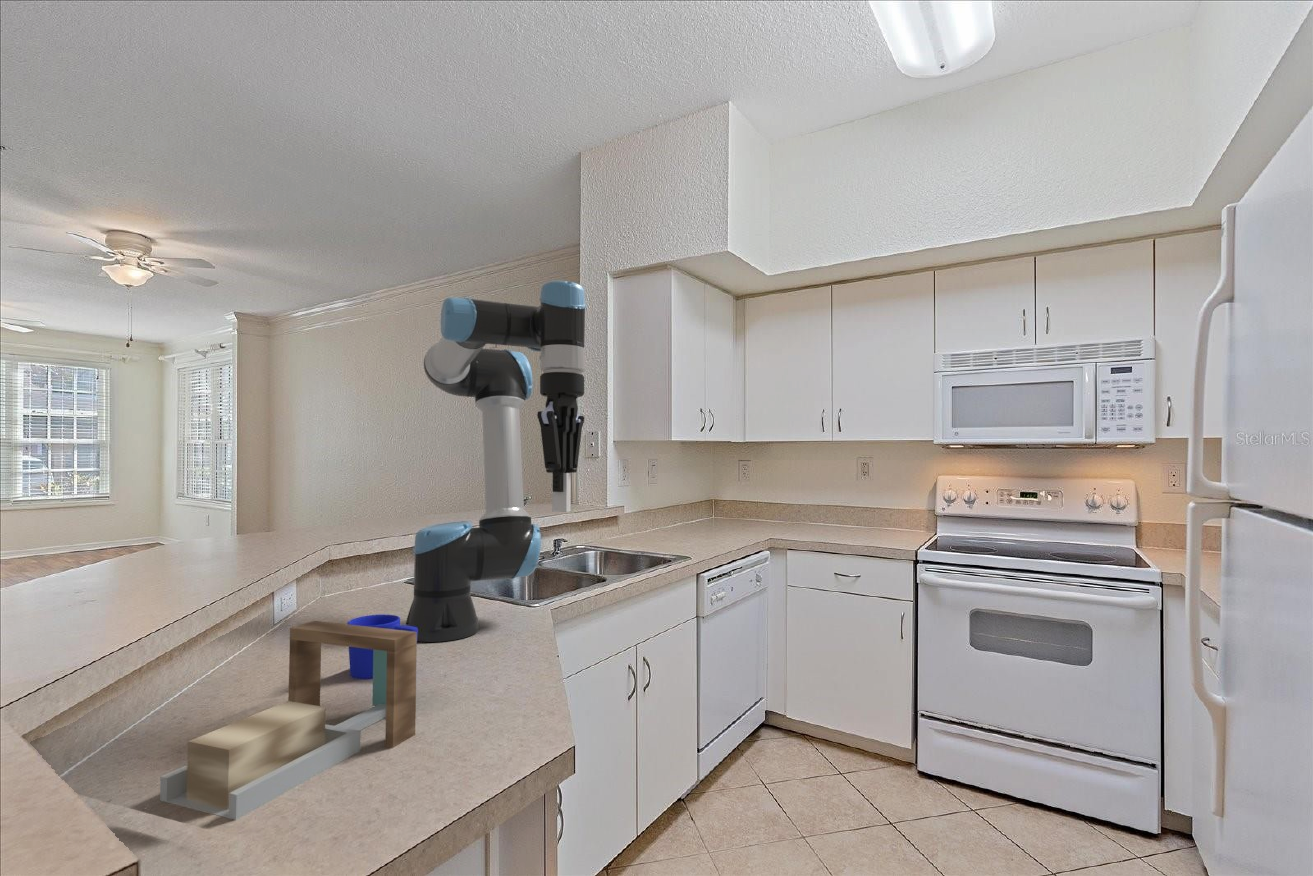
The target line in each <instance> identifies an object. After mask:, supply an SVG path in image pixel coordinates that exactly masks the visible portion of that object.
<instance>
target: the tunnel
mask: <svg viewBox="0 0 1313 876" xmlns="http://www.w3.org/2000/svg"><path fill="white" fill-rule="evenodd" d="M322 644H324V645H325V644H327V645H334V646H335V645H336V646H341V647H342V646H343V647H348V648H349V647H357V648H365V649H373V650H381V651H387V678H386V717H385V744H384V745H385V747H386V748H390V749H391V748H392V749H393V748H395V747H398V746H399V745H400V744H402V743H404V742H406V741H407V740H409V739H411V738H412V737H414V736H416V719H417V718H416V715H417V714H416V710H417V709H416V707H417V705H416V703H417V701H416V700H417V696H416V695H417V692H416V691H417V647H418V646H417V645H418V641H417V632H412V631H403V630H394V629H385V628H376V627H367V626H358V625H349V624H347V623H341V622H340V623H339V622H338V623H337V622H330V621H329V622H328V621H320V620H313V621H309V622H307V623H303V624H299V625H295V626H292V627H290V628H289V657H288V658H289V663H288V667H289V668H288V697H287V698H288V700H287V701H292V702H298V703H304V704H310V705H315V706H321V675H322V674H321V673H322V672H321V668H322V667H321V666H322V665H321V664H322Z"/></svg>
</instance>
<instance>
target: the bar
mask: <svg viewBox="0 0 1313 876" xmlns="http://www.w3.org/2000/svg"><path fill="white" fill-rule="evenodd" d="M325 724H326V707H325V706H321V705H320V706H315V705H310V704H304V703H298V702H292V701H288V700H287V701H284V702H282V703H280V704H276V705H274V706H272V707H270V708H267V709H265V710H263V711H259V712H257V713H254V714H252V715H250V716H247V717H244V718H243V719H242V718H241V719H240V720H238V721H237V720H236V721H235V722H232V723H230V724H228V725H225V726H223V727H220V728H218V729H215V730H212V731H210V732H207V733H205V734H203V735H200V736H198V737H196V738H192V739H190V740H188V741H187V797H186V799H187V800H191V801H195V802H199V803H203V804H207V805H211V806H215V807H218V808H222V809H226V810H228V809H229V793H231V792H233V791H235V790H237V789H239V788H240V787H242V786H244V785H246V784H248V783H250V782H252V781H254V780H256V779H258V778H260V777H262V776H264V775H266V774H268V773H270V772H272V771H274V770H276V769H278V768H280V767H282V766H284V765H286V764H288V763H290V762H291V761H293V760H295V759H297V758H299V757H301V756H303V755H305V754H307V753H309V752H311V751H313V750H315V749H317V748H319V747H321V746H323V745H325Z"/></svg>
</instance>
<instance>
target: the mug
mask: <svg viewBox="0 0 1313 876" xmlns="http://www.w3.org/2000/svg"><path fill="white" fill-rule="evenodd" d="M400 623H401V618H400V617H399V616H398V615H395V614H383V613H382V614H370V615H364V616H363V615H362V616H359V617H356V618H352V619H350V620H349V621H347V623H346V624H349V625H358V626H367V627H376V628H385V629H394V630H403V631H412V632H417V637H418V628H417V627H413V626H405V624H404V625H402V624H400ZM348 657H349V659H348V661H349V674H350V677H351V678H353V679H355V680H356V679H357V680H373V649H365V648H357V647H349V646H348Z"/></svg>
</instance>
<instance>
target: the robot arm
mask: <svg viewBox="0 0 1313 876" xmlns="http://www.w3.org/2000/svg"><path fill="white" fill-rule="evenodd" d="M539 301H540V305H539V306H534V305H533V306H532V305H525V304H516V303H515V304H514V303H507V302H499V301H492V300H490V301H489V300H483V299H476V298H475V299H473V298H469V297H447V298H445V299H444V300H443V302H442V307H441V309H440V310H441V312H440V334H441V335H442V336H441V338H440V339H439V341H437V342H436V343H435V344H433V345H432V346H430V347H429V349H428V350H427V352H426V353H425V356H424V359H423V369H424V373H425V375H426V377H427V378H428V380H429V381H430V382H431V383H432V384H433V385H434V386H435V387H437V388H438V389H440V390H441V391H443V392H444V393H447V394H449V395H453V396H456V397H465V398H466V397H467V398H468V397H469V398H474V399H475V401H474V402H475V403H474V404H475V407H476V408H477V409H478V411H480V412H482V438H483V439H482V441H483V442H482V443H483V468H484V469H483V470H484V471H483V472H484V473H483V474H484V476H483V477H484V498H485V499H484V500H485V502H484V503H485V504H484V506H485V512H484V514H483V515H482V516H481V517H480V518H479V519H478V523H479V524H478V525H479V526H478V527H473V524H472V523H471V521H467V520H460V521H452V522H443V523H437V524H435V525H428V526H426V527H423V528H421V529H419V530H418V531H417V533H416V534H415V537H414V549H413V555H414V560H413V561H414V565H413V567H414V568H413V569H414V570H413V571H414V573H413V599H412V602H411V605H410V608H409V611H408V614H407V618H406V620H405V622H404V625H405V626H413V627H417V628H418V637H417V642H422V643H423V642H424V643H438V642H439V643H440V642H449V641H455V640H460V639H465V638H467V637H470V636H473V635H475V634H476V633H478V632H479V617H478V616H477V612H476V608H475V605H474V603H473V602H474V601H473V600H472V599H473V598H472V595H471V587H472V585H471V583H472V582H479V581H492V580H505V579H512V580H513V579H516V578H522V577H528V576H530V575H531V574H533V573H534V571H535V570H536V568H537V567H538V563H539V559H540V554H541V548H542V534H541V529H540V527H539V526H538V525H537V524H534V523H533V524H532V516H531V515H530V514H529V513H528V512H527V511H526V510H525V503H524V499H525V498H524V484H523V483H524V482H523V481H524V480H523V461H522V443H521V439H522V438H521V425H520V424H521V423H520V420H521V419H520V416H521V415H520V411H521V409H523V408H524V406H526V400H528V399H529V398H530V397H531V396H532V394H533V382H534V381H533V373H532V367H531V364H530V362H529V360H528V358H527V356H526V355H525V354H524V353H522V352H519V351H513V350H509V349H496V348H495V349H493V348H484V347H485V346H486V345H499V346H510V347H511V346H512V347H521V348H527V349H528V350H531V351H533V352H538V353H539V352H540V356H539V360H540V371H541V372H543V373H542V374H541V375H540V377H539V384H540V385H539V392H540V393H539V394H540V395H541V396H542V397H544V398H545V397H546V401H545V409H544V410H542V411H541V410H540V411H538V412H537V416H536V417H537V419H538V422H539V425H540V433H541V443H542V451H543V460H544V461H543V462H544V468H545V471H546V473H548V474H549V473H550V474H552V481H551V482H552V483H551V484H552V488H551V489H552V491H551V492H552V494H551V498H552V499H551V500H552V503H551V504H552V505H551V507H552V509H551V510H552V512H558V513H562V512H563V513H564V512H565V513H569V512H571V509H572V507H571V504H572V503H571V500H572V498H571V497H572V496H571V495H572V494H571V493H572V490H571V489H572V487H571V486H572V484H571V483H572V482H571V481H572V480H571V479H572V478H571V476H572V473H577V471H578V465H579V456H580V450H581V449H580V448H581V439H582V432H583V431H582V429H583V425H584V423H585V417H584V415H579V414H578V410H579V408H578V402H577V401H578V400H577V398H580V397H583V396H584V395H585V376H584V375H583V374H582V373H584V371H585V369H586V368H585V367H586V366H585V364H586V363H585V360H586V359H585V331H586V330H585V323H586V306H587V305H586V299H585V290H584V288H583V286H582V285H581V284H579V283H576V282H573V281H568V280H553V281H548V282H546V283H544V284H542V286H541V291H540V298H539Z"/></svg>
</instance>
